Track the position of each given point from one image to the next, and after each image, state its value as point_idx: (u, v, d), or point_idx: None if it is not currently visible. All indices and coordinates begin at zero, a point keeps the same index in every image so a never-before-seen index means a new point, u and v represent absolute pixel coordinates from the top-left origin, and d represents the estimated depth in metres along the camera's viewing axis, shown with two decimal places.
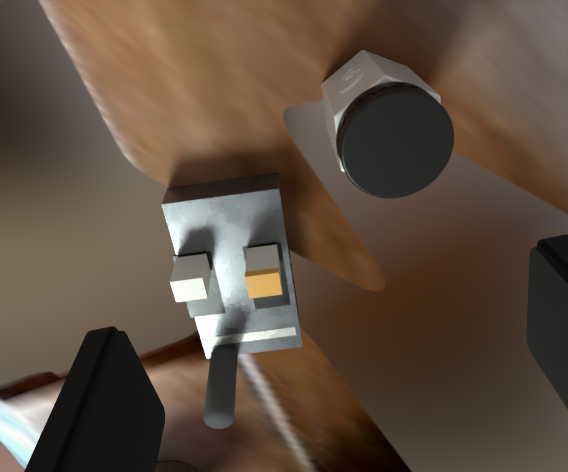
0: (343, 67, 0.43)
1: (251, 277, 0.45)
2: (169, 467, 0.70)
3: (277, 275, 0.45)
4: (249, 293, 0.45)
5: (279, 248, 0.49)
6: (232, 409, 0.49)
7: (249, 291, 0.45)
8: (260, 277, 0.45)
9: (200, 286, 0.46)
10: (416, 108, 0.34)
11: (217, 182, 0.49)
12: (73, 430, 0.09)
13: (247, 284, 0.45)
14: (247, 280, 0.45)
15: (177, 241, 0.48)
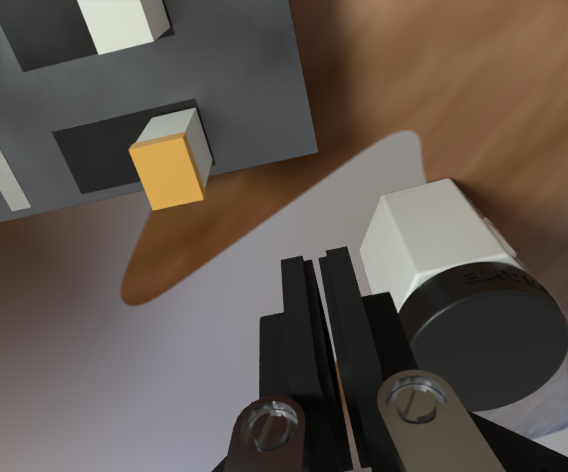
0: (473, 204, 0.33)
1: (183, 151, 0.22)
2: None
3: (196, 197, 0.23)
4: (142, 149, 0.22)
5: None
6: None
7: (147, 149, 0.22)
8: (186, 167, 0.22)
9: (129, 37, 0.20)
10: (541, 366, 0.25)
11: None
12: (314, 333, 0.09)
13: (164, 144, 0.22)
14: (175, 144, 0.22)
15: None
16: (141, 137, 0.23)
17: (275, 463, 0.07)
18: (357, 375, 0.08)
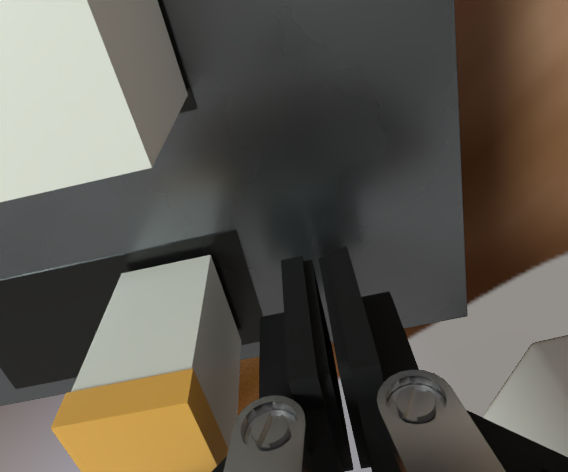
0: None
1: (188, 427, 0.09)
2: None
3: None
4: (85, 427, 0.09)
5: (244, 336, 0.14)
6: None
7: (98, 426, 0.09)
8: (196, 455, 0.09)
9: (82, 158, 0.07)
10: None
11: None
12: (314, 333, 0.09)
13: (142, 415, 0.09)
14: (168, 415, 0.09)
15: None
16: (90, 361, 0.10)
17: (275, 463, 0.07)
18: (357, 375, 0.08)
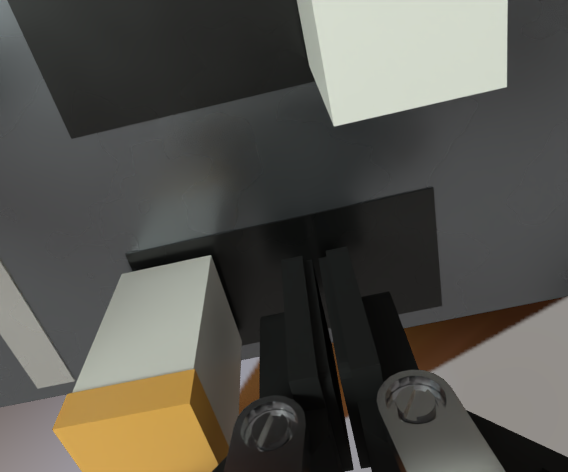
0: None
1: (190, 428, 0.09)
2: None
3: None
4: (87, 428, 0.09)
5: (416, 302, 0.14)
6: None
7: (100, 426, 0.09)
8: (198, 455, 0.09)
9: (439, 76, 0.07)
10: None
11: None
12: (314, 333, 0.09)
13: (143, 416, 0.09)
14: (170, 415, 0.09)
15: None
16: (91, 361, 0.10)
17: (275, 463, 0.07)
18: (357, 375, 0.08)
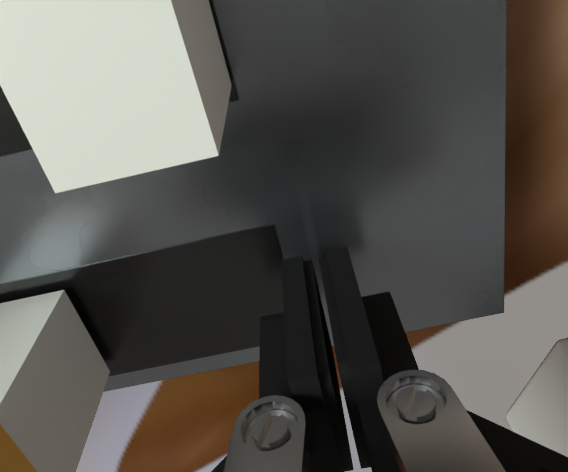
0: None
1: None
2: None
3: None
4: None
5: None
6: None
7: None
8: None
9: (147, 146, 0.07)
10: None
11: None
12: (314, 333, 0.09)
13: None
14: None
15: None
16: None
17: (275, 463, 0.07)
18: (357, 375, 0.08)
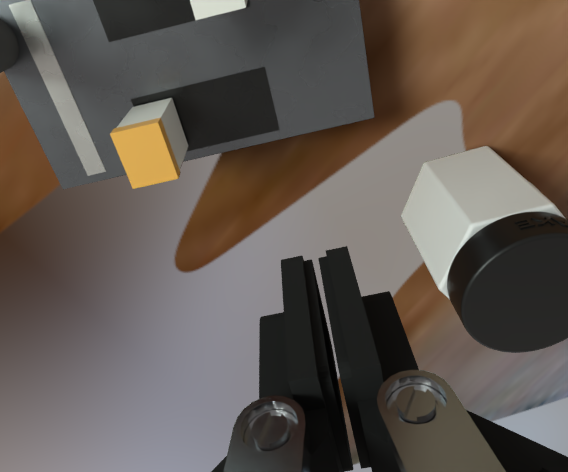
0: None
1: (158, 134, 0.25)
2: None
3: (171, 177, 0.26)
4: (122, 133, 0.25)
5: (267, 128, 0.30)
6: None
7: (126, 133, 0.25)
8: (162, 149, 0.25)
9: (224, 4, 0.23)
10: None
11: None
12: (314, 333, 0.09)
13: (142, 128, 0.25)
14: (151, 128, 0.25)
15: None
16: (121, 123, 0.26)
17: (275, 463, 0.07)
18: (357, 375, 0.08)
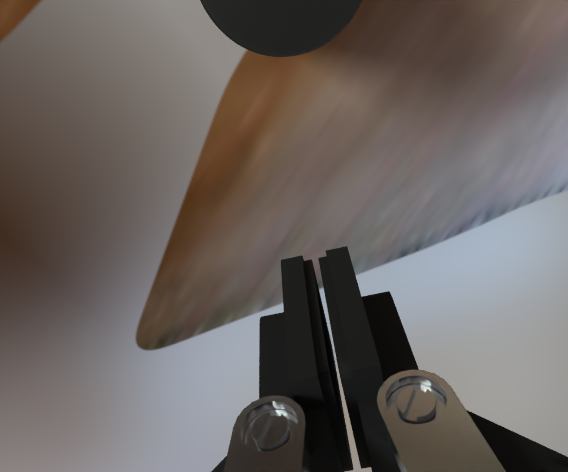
0: None
1: None
2: None
3: None
4: None
5: None
6: None
7: None
8: None
9: None
10: None
11: None
12: (314, 333, 0.09)
13: None
14: None
15: None
16: None
17: (275, 463, 0.07)
18: (357, 375, 0.08)
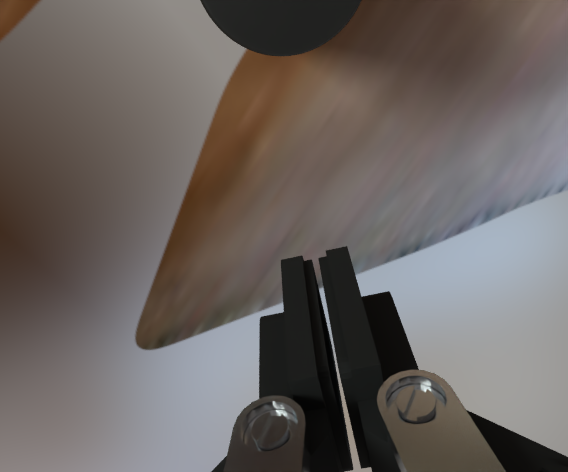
0: None
1: None
2: None
3: None
4: None
5: None
6: None
7: None
8: None
9: None
10: None
11: None
12: (314, 333, 0.09)
13: None
14: None
15: None
16: None
17: (275, 463, 0.07)
18: (357, 375, 0.08)
